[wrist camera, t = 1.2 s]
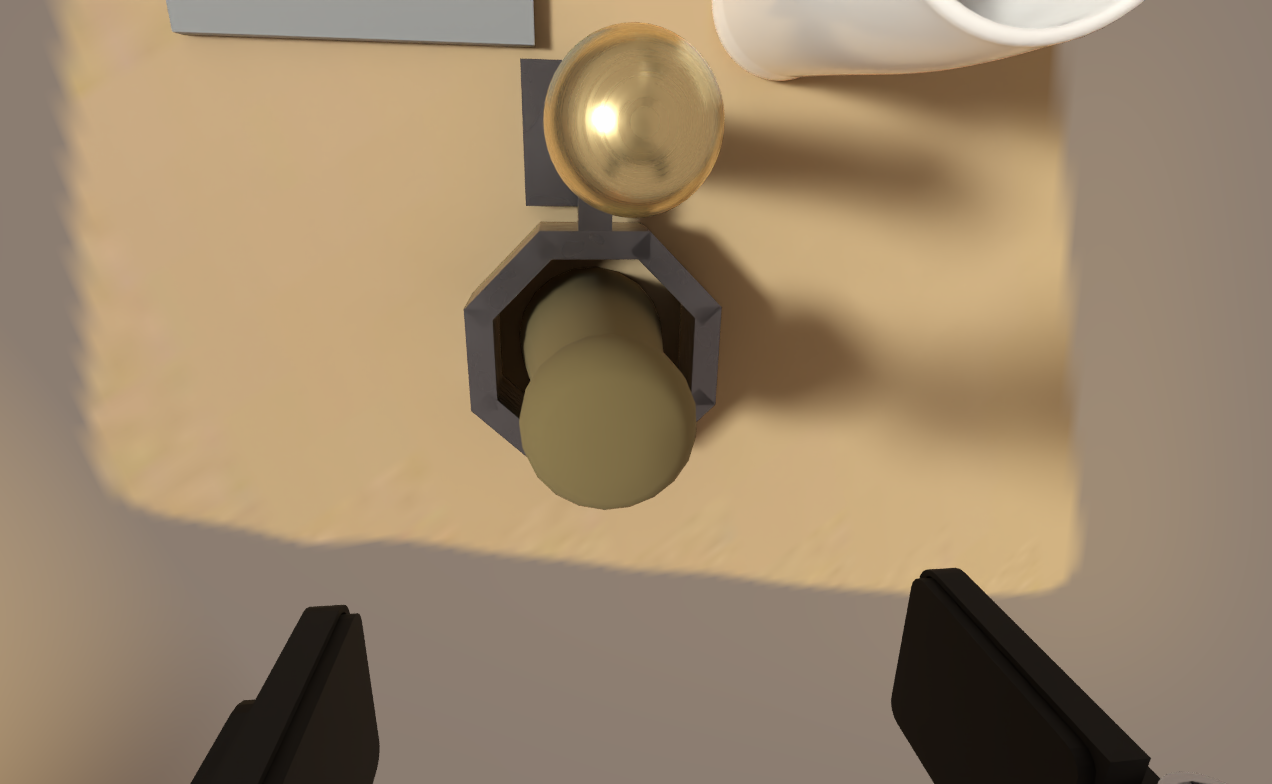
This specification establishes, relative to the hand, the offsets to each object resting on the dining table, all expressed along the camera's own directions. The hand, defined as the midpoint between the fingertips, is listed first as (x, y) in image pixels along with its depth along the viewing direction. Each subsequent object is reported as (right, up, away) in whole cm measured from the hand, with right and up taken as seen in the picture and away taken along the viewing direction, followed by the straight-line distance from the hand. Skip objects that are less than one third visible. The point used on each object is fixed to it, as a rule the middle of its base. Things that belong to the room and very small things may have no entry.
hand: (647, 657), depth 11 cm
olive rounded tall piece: (-2, +7, +17) cm, 19 cm away
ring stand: (-2, +9, +16) cm, 19 cm away
